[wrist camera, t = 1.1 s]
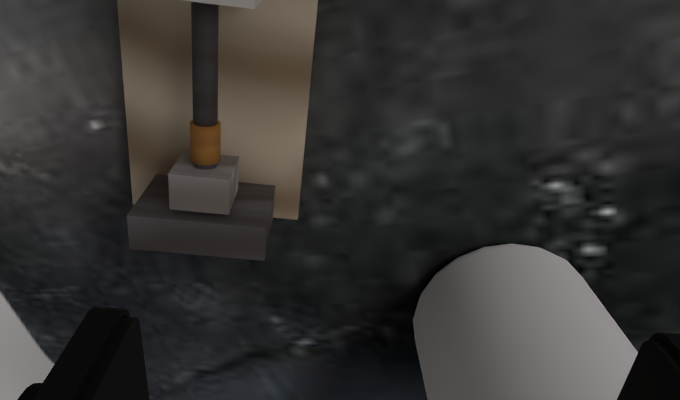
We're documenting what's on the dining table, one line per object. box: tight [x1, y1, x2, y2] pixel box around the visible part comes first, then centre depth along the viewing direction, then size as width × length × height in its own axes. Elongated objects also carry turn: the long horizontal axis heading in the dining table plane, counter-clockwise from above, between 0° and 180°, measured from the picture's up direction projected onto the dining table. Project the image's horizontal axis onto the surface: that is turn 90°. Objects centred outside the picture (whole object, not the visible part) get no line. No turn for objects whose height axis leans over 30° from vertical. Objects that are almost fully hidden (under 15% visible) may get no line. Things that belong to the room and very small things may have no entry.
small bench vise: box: [117, 0, 318, 261], centre depth 25 cm, size 20×10×6 cm, turn 173°
